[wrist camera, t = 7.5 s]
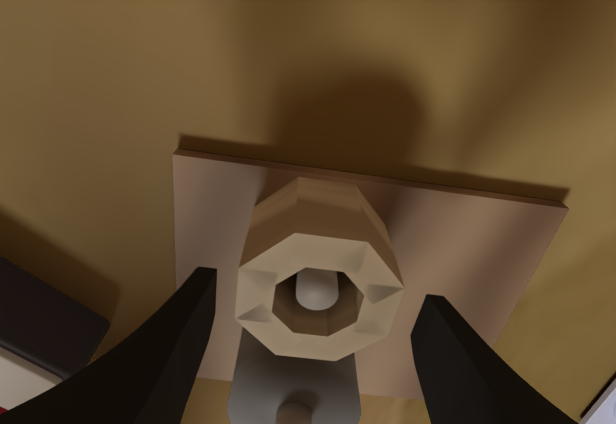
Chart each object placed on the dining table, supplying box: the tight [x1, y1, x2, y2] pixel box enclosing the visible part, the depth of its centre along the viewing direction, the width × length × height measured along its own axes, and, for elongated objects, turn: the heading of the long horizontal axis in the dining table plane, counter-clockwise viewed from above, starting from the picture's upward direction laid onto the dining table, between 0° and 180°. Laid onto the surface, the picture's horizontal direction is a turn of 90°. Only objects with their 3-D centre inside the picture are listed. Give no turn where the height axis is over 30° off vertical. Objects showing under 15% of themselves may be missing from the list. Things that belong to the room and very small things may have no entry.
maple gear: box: [235, 177, 405, 361], centre depth 15 cm, size 6×6×4 cm
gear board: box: [173, 149, 569, 424], centre depth 17 cm, size 16×13×6 cm
